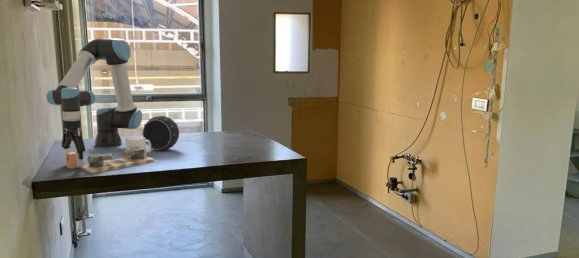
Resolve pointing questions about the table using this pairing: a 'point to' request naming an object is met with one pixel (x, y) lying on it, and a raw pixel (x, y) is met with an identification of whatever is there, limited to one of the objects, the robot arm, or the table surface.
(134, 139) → the mug
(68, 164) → the coupler
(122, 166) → the shaft bench
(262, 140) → the table surface
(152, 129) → the black drum
